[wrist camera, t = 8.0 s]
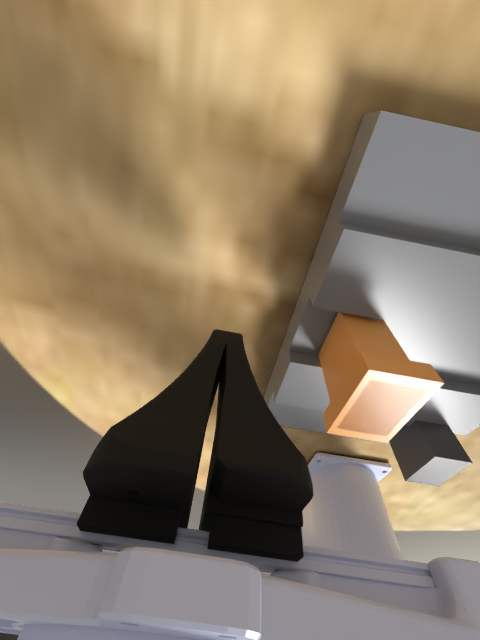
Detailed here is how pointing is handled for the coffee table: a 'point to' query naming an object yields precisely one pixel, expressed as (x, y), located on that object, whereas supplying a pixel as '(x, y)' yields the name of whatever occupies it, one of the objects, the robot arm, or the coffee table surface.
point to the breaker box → (398, 283)
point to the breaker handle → (371, 380)
